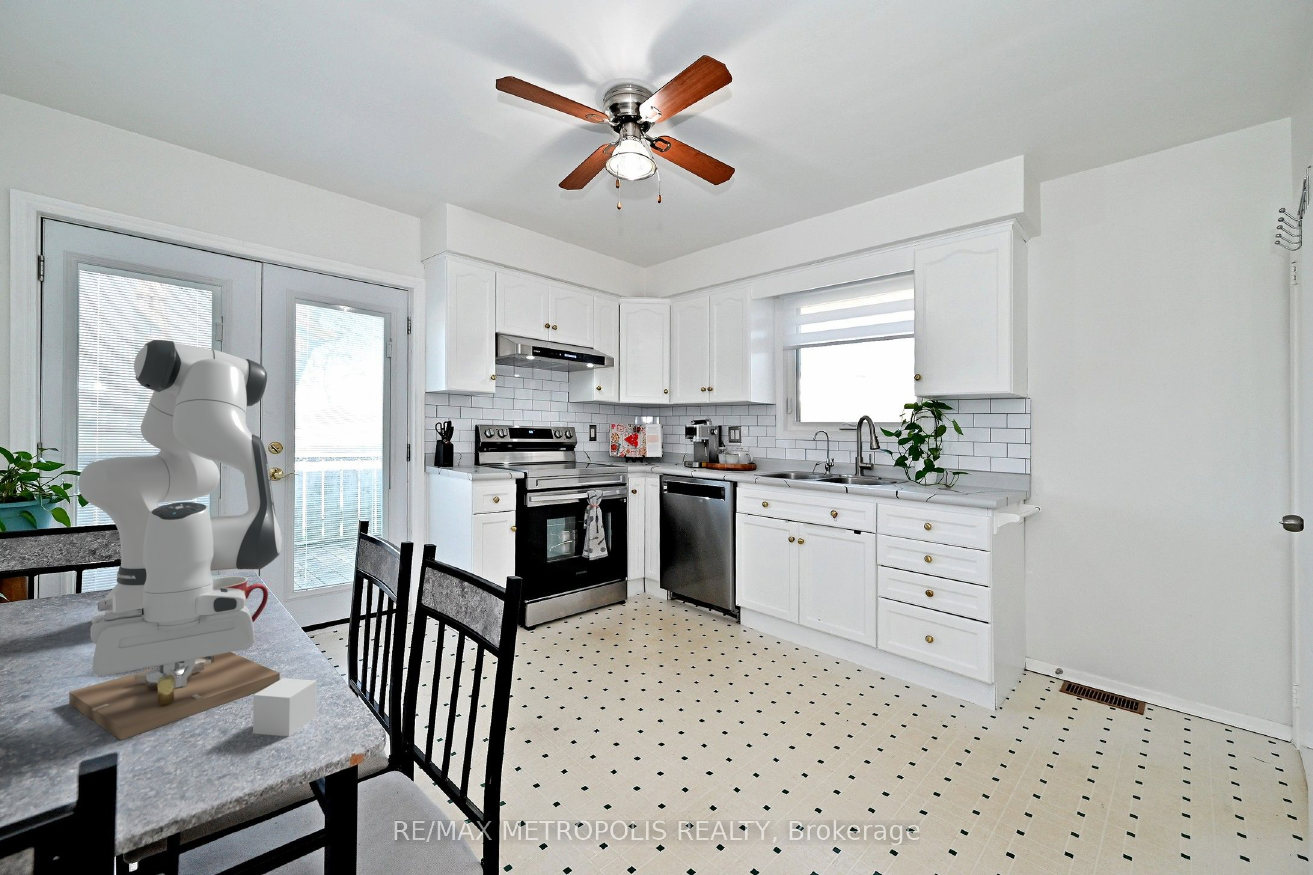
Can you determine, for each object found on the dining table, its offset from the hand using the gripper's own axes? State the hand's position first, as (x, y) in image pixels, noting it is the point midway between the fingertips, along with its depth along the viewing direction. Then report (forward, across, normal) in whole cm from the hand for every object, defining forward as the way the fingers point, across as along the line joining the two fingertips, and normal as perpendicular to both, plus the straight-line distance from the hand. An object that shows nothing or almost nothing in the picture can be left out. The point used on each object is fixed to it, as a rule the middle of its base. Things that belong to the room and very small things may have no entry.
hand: (179, 687), depth 94 cm
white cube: (+4, +13, -16) cm, 21 cm away
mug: (+4, +8, +30) cm, 31 cm away
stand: (+4, 0, +7) cm, 8 cm away
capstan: (+1, -1, +4) cm, 4 cm away
